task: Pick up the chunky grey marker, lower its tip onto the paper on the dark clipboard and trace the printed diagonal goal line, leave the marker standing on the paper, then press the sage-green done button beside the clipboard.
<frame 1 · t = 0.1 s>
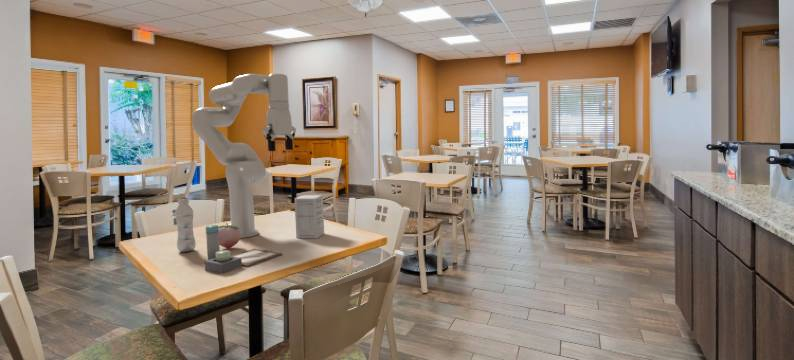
hand: (280, 150, 180), 37 cm above the table, tool pointing down, fingers open, 9 cm apart
done button: (222, 255, 149), point 4 cm above the table, slide at 0.0 cm
plastic bottle: (186, 251, 172), on the table
supplement box: (310, 236, 193), on the table
marker: (214, 260, 160), on the table
button housing: (223, 268, 150), on the table
clipboard: (250, 258, 161), on the table
decorative fruit: (228, 248, 175), on the table
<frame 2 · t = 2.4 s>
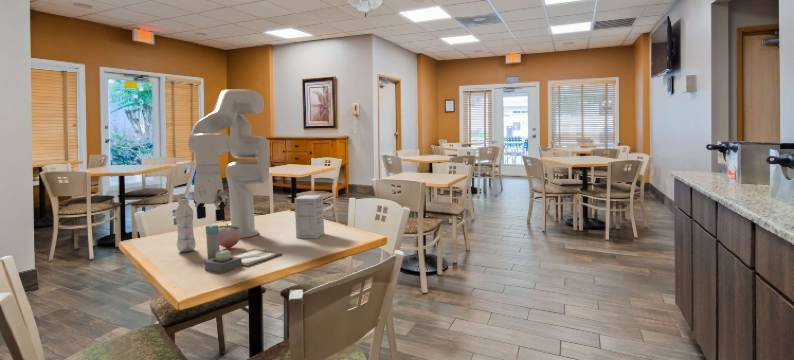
hand: (210, 219, 157), 15 cm above the table, tool pointing down, fingers open, 9 cm apart
nothing on the table moved.
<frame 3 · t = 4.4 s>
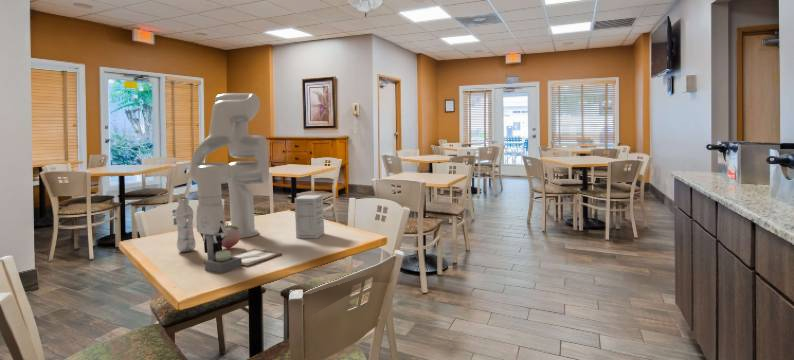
hand: (213, 252, 159), 3 cm above the table, tool pointing down, fingers closed on marker, 4 cm apart
marker: (214, 260, 160), on the table, touching gripper
everything else where it was.
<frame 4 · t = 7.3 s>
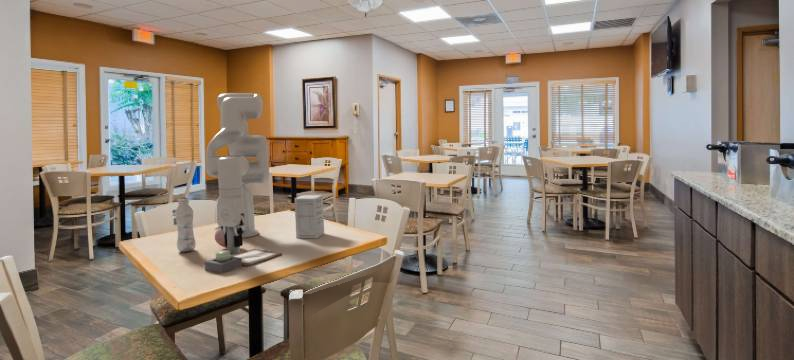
hand: (233, 245, 158), 6 cm above the table, tool pointing down, fingers closed on marker, 4 cm apart
marker: (234, 253, 158), point 3 cm above the table, touching gripper
everything else where it was.
when the fingers open (4 cm above the table, at t = 10.0 s): marker stays where it is, resting on clipboard.
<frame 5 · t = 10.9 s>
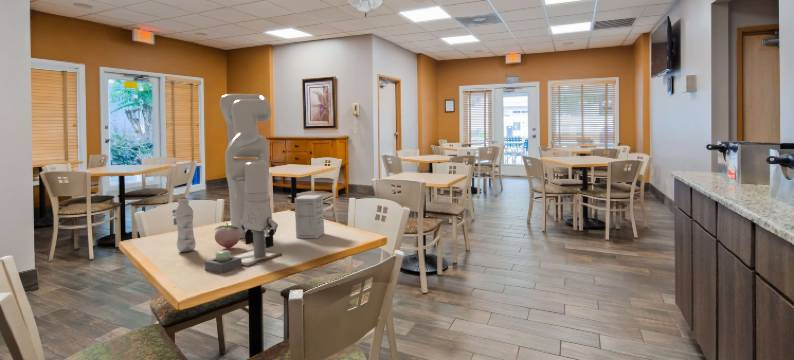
hand: (259, 245, 160), 5 cm above the table, tool pointing down, fingers open, 9 cm apart
marker: (259, 256, 161), point 1 cm above the table, touching clipboard
everything else where it was.
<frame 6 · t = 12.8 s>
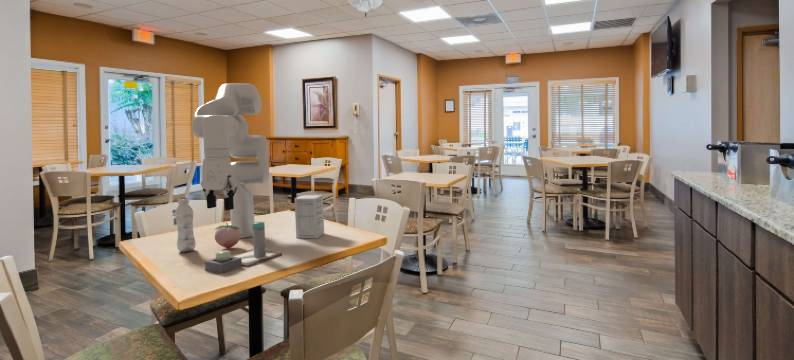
hand: (220, 208, 147), 20 cm above the table, tool pointing down, fingers open, 7 cm apart
nothing on the table moved.
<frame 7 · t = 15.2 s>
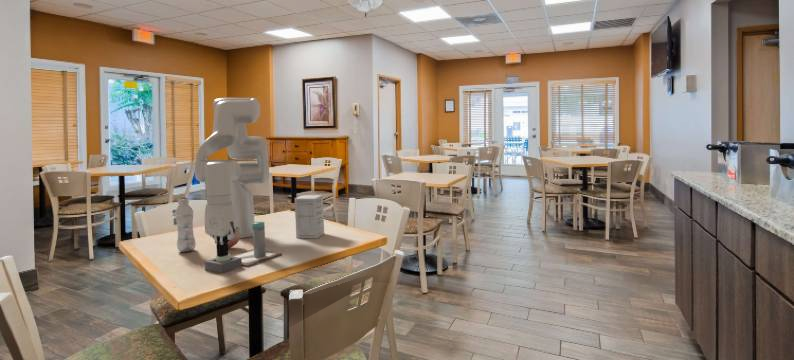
hand: (222, 255, 149), 4 cm above the table, tool pointing down, fingers closed
done button: (223, 259, 149), point 3 cm above the table, slide at 1.1 cm, touching gripper
everything else where it was.
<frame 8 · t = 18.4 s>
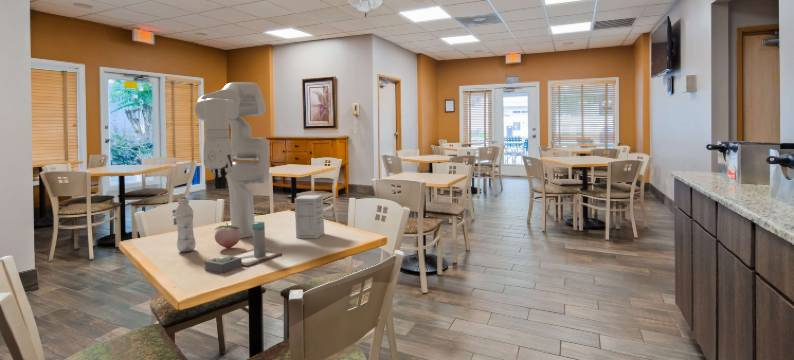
hand: (220, 188, 158), 25 cm above the table, tool pointing down, fingers closed
done button: (223, 260, 150), point 3 cm above the table, slide at 1.7 cm
everything else where it was.
at the end: marker inside the target area on the clipboard (3.4 cm from its centre), point 0.7 cm above the clipboard's base; marker tilted 0°; done button slide at 1.7 cm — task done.
